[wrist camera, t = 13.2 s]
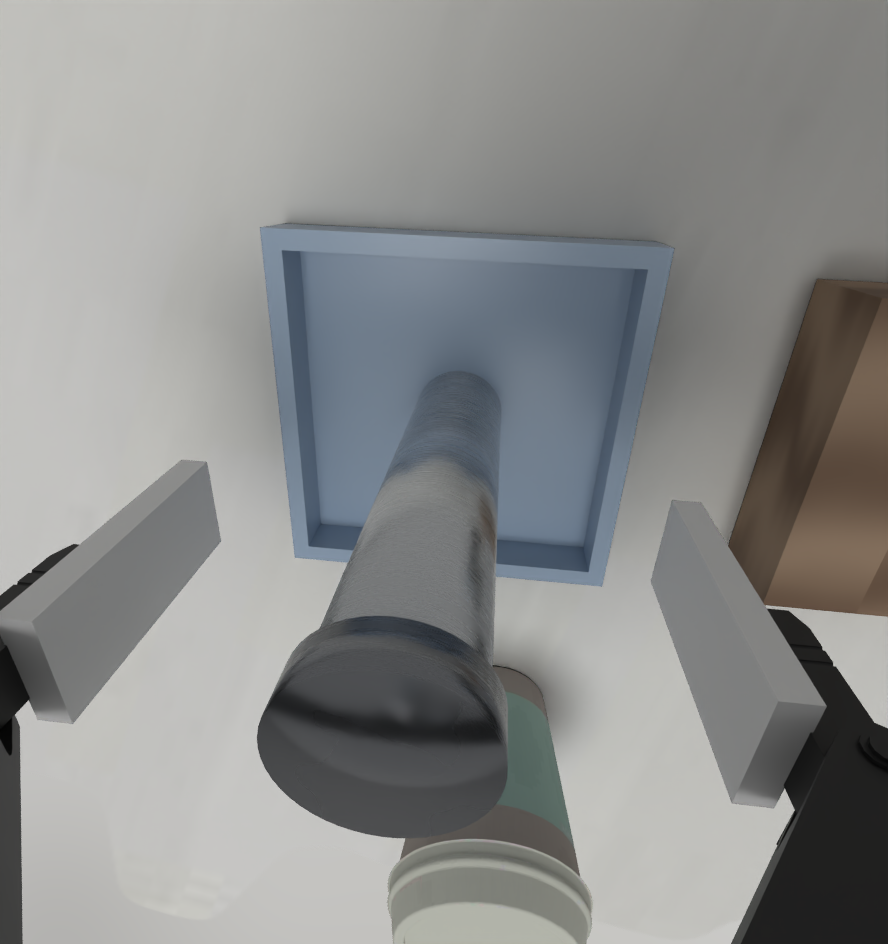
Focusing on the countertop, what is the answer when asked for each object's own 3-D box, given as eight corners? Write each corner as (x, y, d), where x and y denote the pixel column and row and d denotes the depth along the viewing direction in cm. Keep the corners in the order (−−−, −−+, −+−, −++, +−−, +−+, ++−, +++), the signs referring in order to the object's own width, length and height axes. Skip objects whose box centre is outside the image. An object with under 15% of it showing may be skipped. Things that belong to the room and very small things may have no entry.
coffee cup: (401, 722, 34) (352, 968, 23) (451, 626, 30) (420, 869, 19) (529, 767, 34) (539, 1025, 24) (595, 678, 30) (642, 941, 20)
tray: (285, 223, 21) (259, 227, 19) (656, 241, 20) (674, 248, 18) (311, 528, 28) (294, 557, 26) (594, 553, 27) (602, 586, 25)
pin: (410, 360, 23) (241, 657, 8) (513, 367, 22) (520, 687, 8) (409, 452, 25) (271, 822, 10) (503, 460, 24) (496, 852, 10)
